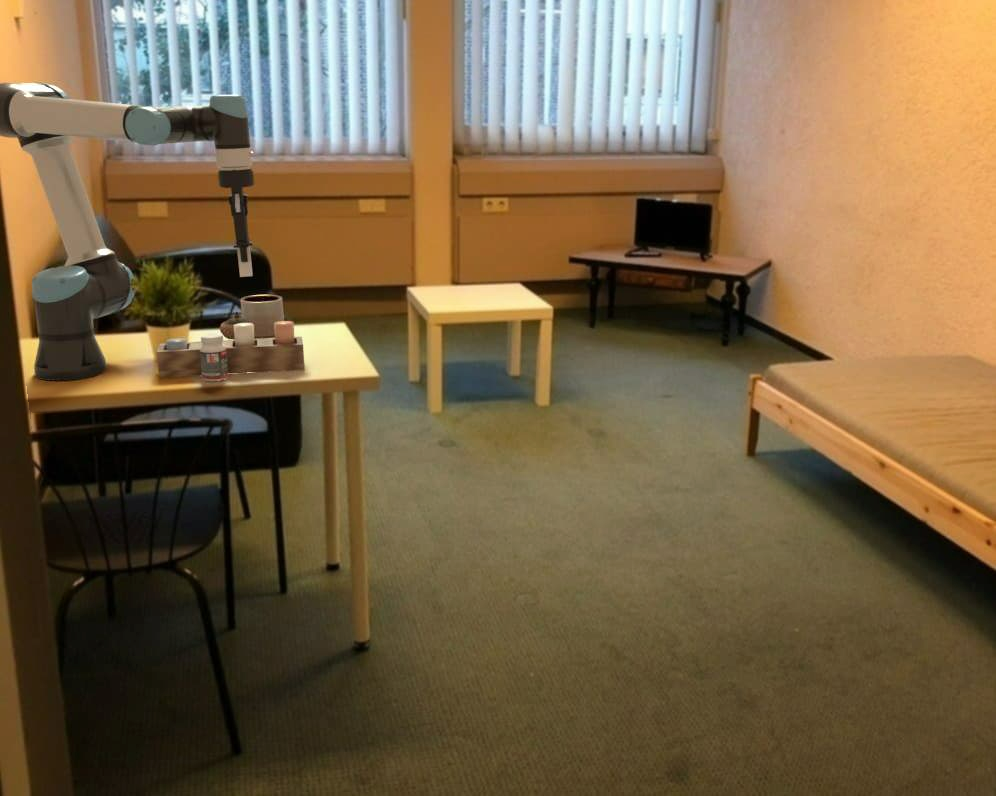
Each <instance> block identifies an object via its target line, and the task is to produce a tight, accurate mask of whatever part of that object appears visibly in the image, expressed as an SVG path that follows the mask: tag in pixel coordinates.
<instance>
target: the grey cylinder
mask: <svg viewBox="0 0 996 796" xmlns="http://www.w3.org/2000/svg"><path fill="white" fill-rule="evenodd" d="M165 343H166V346H167V350H179V349H187V339H186V338H179V337H178V338H170V339H166V340H165Z"/></svg>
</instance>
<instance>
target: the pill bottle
mask: <svg viewBox="0 0 996 796" xmlns="http://www.w3.org/2000/svg"><path fill="white" fill-rule="evenodd" d="M223 340H224V336H223V334H222V333H219V332H217V333H216V332H211V333H206V334H202V335H201V336H200V342H202V343H203V345H202V346H201V347H200V361H201V373H202V376H201V378H202V380H203V381H204V380H205V381H204V382H208V381H217V380H223V381H225V380H227V379H228V378H229V374H228V366H227V353H226V346H225V345H224V344H222V341H223ZM224 379H225V380H224ZM217 382H218V381H217Z"/></svg>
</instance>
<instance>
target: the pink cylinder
mask: <svg viewBox="0 0 996 796" xmlns="http://www.w3.org/2000/svg"><path fill="white" fill-rule="evenodd" d="M294 327H295V324H294V321H290V320H284V321H280V322H275V323H274V331H275V337H274V338H275V345H277V344H295V340H294V337H295V328H294Z"/></svg>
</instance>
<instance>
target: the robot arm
mask: <svg viewBox="0 0 996 796" xmlns="http://www.w3.org/2000/svg"><path fill="white" fill-rule="evenodd" d="M246 103H247V102H246V99H245V97H244V95H242V94H219V95H211V96H210V98H209V104H205V105H172V106H151V105H139V104H136V105H135V104H128V103H127V104H126V103H117V102H116V103H115V102H106V101H105V102H104V101H94V100H93V101H92V100H82V99H71V98H70V97H69V95H68V94H67V93H66V92H65V91H64V90H63V89H61V88H59V87H58V86H55V85H52V84H49V83H43V82H31V83H30V82H28V83H27V82H26V83H25V82H24V83H23V82H21V83H20V82H17V83H16V82H0V137H3V138H4V137H5V138H11V139H12V138H14V139H17V140H18V143H19V145H20V148H21V150H22V151H23V152H25V153H27V154H29V155H30V156H31V157H32V160H33V163H34V166H35V168H36V172H37V174H38V178H39V180H40V182H41V186H42V188H43V191H44V193H45V196H46V199H47V202H48V204H49V207H50V210H51V214H52V215H53V219H54V221H55V224H56V227H57V229H58V232H59V235H60V237H61V242H62V243H63V246H64V248H65V252H66V255H67V256H68V257H67V259H66V261H65V263H64V265H60V266H56V267H50V268H47V269H44V270H41V271H39V272H37V273H36V274H35V275H33V277H32V280H31V288H32V289H31V297H32V300H33V307H34V313H35V314H34V315H35V321H36V327H37V333H38V346H37V350H36V356H35V360H34V365H33V366H34V367H33V369H34V376H35V377H36V378H38V379H41V380H46V381H73V380H79V379H80V380H81V379H86V378H90V377H94V376H97V375H100V374H102V373H104V372H106V370H107V361H106V358H105V356H104V353H103V351H102V349H101V346H100V345H99V343H98V341H97V339H96V335H95V330H94V320H95V319H98V318H102V317H105V316H108V315H112V314H116V313H118V312H119V311H120V310H123V309H125V308H126V307H128V306H129V305H130V304H131V302H132V300H133V298H134V297H135V294H136V291H135V292H134V290H132V288H131V286H130V282H131V280H132V279H135V276H134V274H133V273H132V270H131V269H130V268H129V267H128V266H126V265H125V264H124V263H122V262H120V261H118V258H117V256H116V255H117V254H116V253H115V251H114V250H111V249H110V248H108V247H107V246H106V244H105V241H104V239H103V236H102V233H101V230H100V227H99V225H98V221H97V219H96V217H95V214H94V210H93V208H92V205H91V202H90V199H89V196H88V194H87V191H86V190H87V189H86V188H85V184H84V182H83V179H82V176H81V173H80V170H79V168H78V164H77V161H76V159H75V157H74V153H73V151H72V148H71V145H72V142H74V139H75V137H79V138H89V139H99V140H110V141H119V142H120V141H121V142H122V141H123V142H132V143H137V144H139V145H141V146H143V145H144V146H158V145H162V144H163V145H164V144H179V143H180V144H181V143H195V142H196V143H197V142H214V153H215V162H216V167H217V168H218V169H219V170H218V172H217V177H218V178H217V179H218V186H219V187H220V188H221V189H222V188H223V189H231V191H230V192H231V195H228V203H229V206H230V214H231V216H232V218H233V224H234V226H233V227H234V235H235V244H233V248H234V249H235V248H236V250H237V251H236V252H237V260H238V269H239V278H244V277H246V278H247V277H253V267H252V266H253V265H252V264H253V263H252V256H251V255H252V254H251V246H253V242H250V236H249V225H248V215H249V210H248V202H249V197H248V194H244V193H245V192H244V188H249V187H253V186H254V185H255V179H254V170H253V168H250V167H252V166H253V160H252V157H255V152H253V151H251V143H250V142H251V141H250V139H251V138H250V128H249V114H248V110H247V104H246Z"/></svg>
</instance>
